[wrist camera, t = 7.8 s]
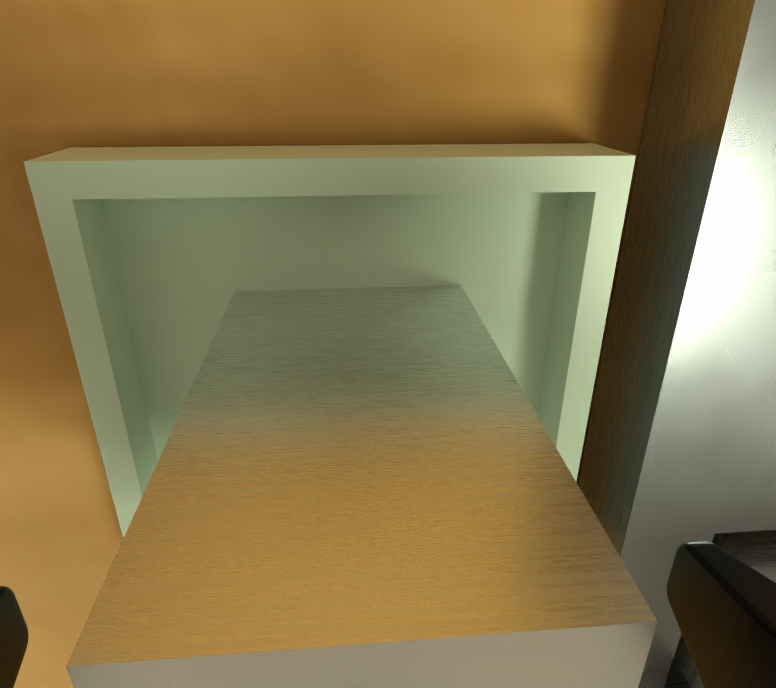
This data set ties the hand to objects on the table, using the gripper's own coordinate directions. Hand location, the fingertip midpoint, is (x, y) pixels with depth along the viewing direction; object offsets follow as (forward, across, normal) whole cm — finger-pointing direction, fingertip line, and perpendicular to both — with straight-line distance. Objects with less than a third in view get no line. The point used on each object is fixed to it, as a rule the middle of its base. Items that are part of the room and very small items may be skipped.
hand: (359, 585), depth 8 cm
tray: (+6, 0, 0) cm, 6 cm away
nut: (+5, 0, 0) cm, 5 cm away
